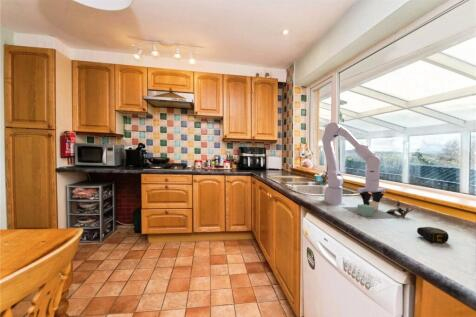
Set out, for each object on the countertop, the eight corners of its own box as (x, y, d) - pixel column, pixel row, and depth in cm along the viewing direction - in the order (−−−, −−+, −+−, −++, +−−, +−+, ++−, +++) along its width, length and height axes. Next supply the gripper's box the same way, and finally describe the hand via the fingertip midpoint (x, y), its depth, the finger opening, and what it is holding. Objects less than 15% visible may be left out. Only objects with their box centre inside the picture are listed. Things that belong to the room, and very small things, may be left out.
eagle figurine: (417, 216, 95) (400, 206, 104) (411, 202, 93) (395, 193, 102) (400, 224, 95) (385, 214, 105) (394, 211, 94) (379, 202, 103)
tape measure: (415, 235, 75) (416, 225, 75) (437, 237, 74) (438, 226, 74) (429, 244, 69) (429, 232, 68) (453, 246, 67) (454, 234, 67)
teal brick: (357, 213, 99) (357, 204, 99) (365, 212, 100) (366, 204, 99) (364, 216, 94) (364, 207, 94) (373, 215, 95) (373, 207, 95)
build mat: (341, 208, 108) (341, 207, 108) (369, 207, 111) (369, 206, 111) (369, 219, 91) (369, 218, 91) (401, 218, 93) (401, 218, 93)
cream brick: (363, 207, 108) (363, 200, 108) (370, 207, 109) (371, 200, 109) (370, 210, 104) (370, 202, 104) (378, 210, 105) (378, 202, 105)
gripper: (365, 180, 101) (363, 209, 101) (391, 181, 103) (390, 208, 104) (354, 178, 108) (353, 205, 108) (379, 178, 110) (378, 204, 111)
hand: (370, 206), depth 107 cm, fingers closed on cream brick, 4 cm apart
